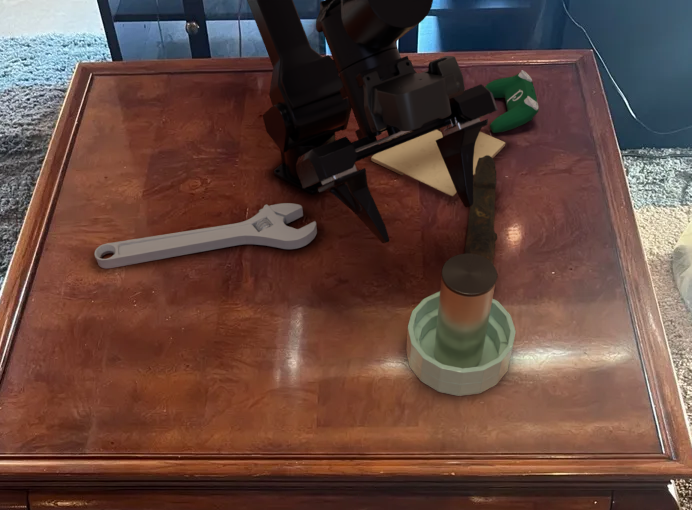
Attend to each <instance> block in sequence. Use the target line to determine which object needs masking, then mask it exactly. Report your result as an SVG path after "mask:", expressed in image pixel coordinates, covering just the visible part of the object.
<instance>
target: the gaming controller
mask: <svg viewBox="0 0 692 510" xmlns="http://www.w3.org/2000/svg"><path fill="white" fill-rule="evenodd" d="M484 87H486V88H487V89H488V90H489V91H490V92H491V93H492V94H493V97H494V99H501V98H502V99H503V98H504V100H505V104H506V110H507V111H506V112H503V113H502V114H500V115H498V116H497V117H496V118H494V120H492V121H491V123H490V124H489V128H490V130H491V132H492V133H493V134H498V133H503V132H507V131H511V130H514V129H516V128H518V127H520V126H523V125H525V124H527V123H528V122H531V121H533V119H534V117H535V116H536V115H537V114H538V113H539V110H540V109H539V103H538V98H537V92H536V89H535V86H534V83H533V79H532V77H531V75H529V73H527V72H526V71H525V70H523V69H521V71H520V72H519V73H517V74H515V75H513V76H509V77H508V76H506V77H501V78H497V79H494V80H492V81H490V82H487V84H486V85H485V86H484Z"/></svg>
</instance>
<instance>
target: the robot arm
mask: <svg viewBox="0 0 692 510" xmlns="http://www.w3.org/2000/svg"><path fill="white" fill-rule="evenodd" d="M433 1H434V0H321V1H320V2H319V11H318V15H317V17H316V20H315V30H316V31H317V33H323V36H324V39H325V41H326V44H327V47H328V50H329V52H330V55H331V56H330V55H329V54H327V55H324V56H323V55H321V54H320V53H319V52H317V50H315V49H314V48H312V46H311V43H310V41H309V38H308V36H307V33H306V30H305V28H304V25H303V23H302V20H301V18H300V14H299V13H298V9H297V7H296V5H295V2H294V0H246V2H247V5H248V7H249V9H250V11H251V15H252V18H253V19H254V22H255V25H256V27H257V30H258V32H259V34H260V37H261V40H262V42H263V45H264V47H265V51H266V52H267V55H268V58H269V60H270V63H271V66H272V72H271V78H270V86H269V93H268V96H269V99H270V103H271V107H269V109H267V110H266V111H265V112H263V114H262V119H263V124H264V127H265V130H266V131H265V132H266V133H267V135H268V136H269V137H270V138H271V140H272V141H273V142H274V144H275V145H276V146H277V147H278V149H279V150H280V158H281V164H280V165H278V166H277V167H276V168H275V169H274V170H273V175H274V177H277V178H278V179H281V180H283V181H284V182H287V183H288V184H290V185H292V186H294V187H296V188H298V189H299V190H302V191H304V192H305V193H308V194H310V195H315V194H317V193H318V192H319V193H322V192H325V191H328V192H330V193H331V194H332V195H333V196H334V197H335V198H336V199H338V201H340V202H341V203H342V204H344V205H345V206H346V207H347V208H348V209H349V210H351V212H352V213H353V214H354V215H355V216H356V217H357V218H358V219H359V220H360V221H361V222H362V223H363V224H364V225H365V226H366V228H368V230H370V232H371V233H372V234H373V235H374V237H376V238H377V239H378V240H379V242H381V244H387V243H389V242H390V237H389V233H388V230H387V227H386V224H385V222H384V220H383V217H382V215H381V213H380V211H379V209H378V207H377V205H376V202H375V200H374V197H373V196H372V193H371V191H370V189H369V185H368V178H367V177H368V176H367V170H366V169H367V168H366V167H363V168H361V169H359V170H358V168H357V167H356V164H355V163H356V162H359V161H361V160H362V161H363V160H364V159H367V158H370V157H372V156H373V155H374V154H377V153H379V152H382V151H384V150H387V149H389V148H392V147H394V146H397V145H400V144H402V143H405V142H407V141H410V140H412V139H415V138H417V137H420V136H422V135H425V134H427V133H430V132H432V131H435V130H438V131H440V132H441V133H442V136H443V137H442V138H440V139H438V140H436V143H437V146H438V148H439V151H440V153H441V155H442V158H443V160H444V162H445V165H446V167H447V170H448V172H449V174H450V177H451V179H452V182H453V184H454V187H455V189H456V191H457V193H456V194H457V196H458V197H459V199H460V201H461V202H462V204H463V206H464V207H465V208H470V207H471V206H472V205H473V179H474V178H473V158H474V148H475V142H476V140H477V137H478V135H479V132H481V130H482V128H484V127H486V126H488V125H489V119H488V118H486V119H484V120H481V119H480V118H483V117H486V116H487V115H489V114H492V113H495V112H497V111H499V109H498V106H497V102H496V100H495V98H494V97H493V94H492V93H491V92H490V91H489V90H488V89H487V88H486V87H485V86H484V85H483V84H482V83H480V84H478V85H476V86H472V87H470V88H468V89H466V86H465V81H464V75H463V72H462V69H461V68H460V65H459V63H458V60H457V58H456V56H454V55H444V56H442V57H439V58H437V59H433V60H431V61H429V63H428V66H427V67H428V68H427V70H425V71H422V72H419V73H418V72H417V71H416V69H415V68H414V65H413V63H412V60H410V59H409V56H408V55H406V56H405V55H404V56H403V57H402V56H401V54H400V51H399V49H398V46H397V43H396V42H397V41H398V40H400V39H401V38H402V37H404V36H405V35H406V34H408V33H409V32H410V31H411V30H413V29H414V28H415V27H416V26H418V25H419V24H420V23H421V22H423V21H424V20H425V18H427V16H428V15H429V13H430V11H431V10H432V8H433V7H432V6H433ZM351 113H353V115H354V118H355V120H356V123H357V126H358V129H357V130H355V131H354V132H355V135H356V137H357V140H354V141H351V140H350V139H349V138H348V137H347V136H343V137H341V138H338V139H336V133H338V132H340V131H345V130H347V129H348V125H349V121H350V117H351ZM384 132H386V133H387V136H385V137H382V138H380V139H377V137H378V136H381V135H382V133H384Z"/></svg>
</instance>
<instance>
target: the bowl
mask: <svg viewBox="0 0 692 510" xmlns="http://www.w3.org/2000/svg"><path fill="white" fill-rule="evenodd" d="M439 298H440V290H439V291H437V292H435V293H432V294H431V295H429V296H427V297H425V298H423V299H422V300H421V301H420V302H419V303H418V304H417V306H416V307H415V308H414V309H413V310H412V311H411V313H410V317H409V321H408V323H407V324H408V325H407V331H406V332H407V333H406V350H405V353H406V356H407V361H408V365H409V368H410V369H411V371H412V372H413V374H414V375H415V376H416V377H417V378H418V379H419V381H420V382H421V383H422V384H425V385H426V386H428V387H430V388H431V389H433V390H435V391H436V392H438V393H441V394H445V395H446V394H447V395H452V396H456V397H462V396H463V397H464V396H470V395H471V396H472V395H478V394H482V393H484V392H485V391H487V390H490V389H491V388H493V387H496V386H497V385H498V384H499V382H500V381H501V380H502V378H503V377H504V376H505V375H506V373H507V372H508V370H509V366H510V360H511V358H512V353H513V349H514V343H515V337H516V332H517V331H516V327H515V324H514V321H513V318H512V315H511V314H510V313H509V311H507V309H506V308H505V307H504V306H503V305H502V304H501V302H499V301H498V300H497V299H495V298H493V299H492V305H491V310H490V316H489V321H488V326H487V332H486V337H485V343H484V348H483V354H482V358H481V361H480V363H479V364H478V365H477V366H476V367H470V368H458V367H453V366H448V365H443V364H441V363H439V362H438V361H437V360H436V358H435V356H434V347H435V337H436V327H437V317H438V308H439Z"/></svg>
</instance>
